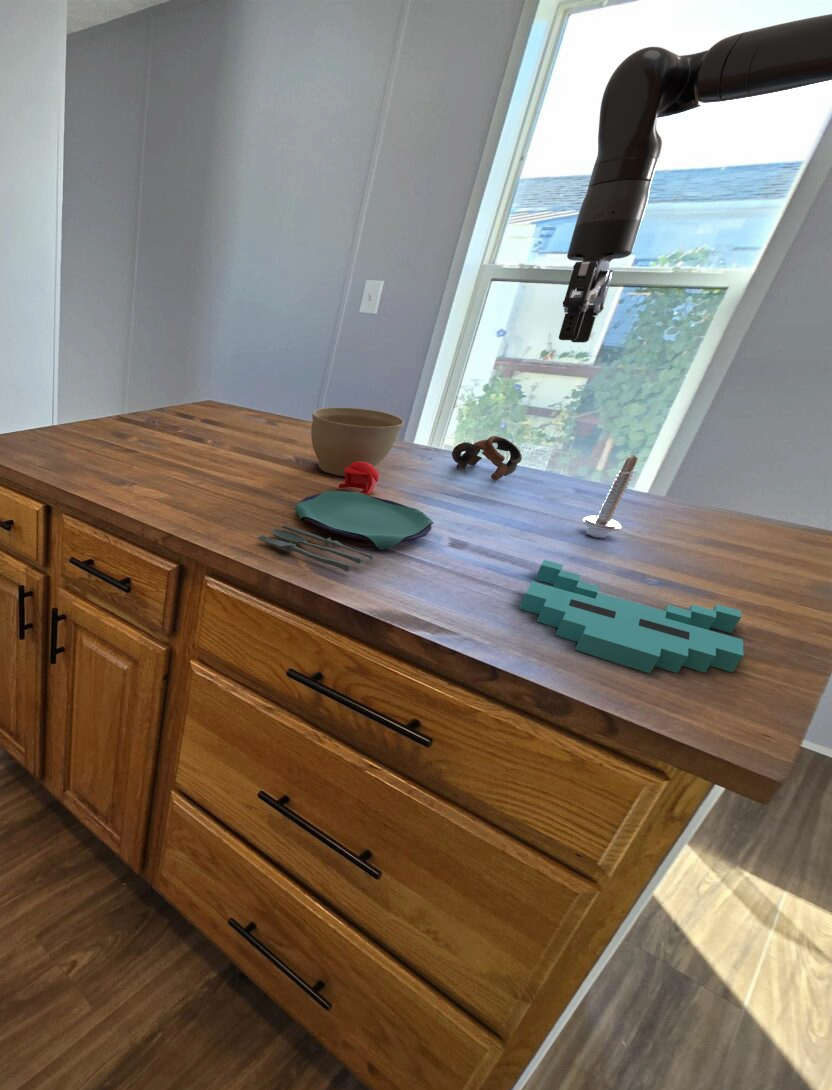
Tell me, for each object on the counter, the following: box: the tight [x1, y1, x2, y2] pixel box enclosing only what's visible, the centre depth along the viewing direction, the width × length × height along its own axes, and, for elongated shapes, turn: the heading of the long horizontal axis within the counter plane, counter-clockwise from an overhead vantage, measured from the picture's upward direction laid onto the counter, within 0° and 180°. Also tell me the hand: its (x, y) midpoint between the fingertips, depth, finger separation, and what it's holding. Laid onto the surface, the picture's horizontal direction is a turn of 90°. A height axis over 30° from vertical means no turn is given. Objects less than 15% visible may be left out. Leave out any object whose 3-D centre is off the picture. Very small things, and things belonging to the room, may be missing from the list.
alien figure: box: [518, 559, 745, 674], centre depth 79 cm, size 20×2×20 cm
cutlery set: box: [256, 490, 434, 573], centre depth 103 cm, size 20×30×2 cm, turn 130°
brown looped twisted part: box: [451, 435, 523, 481], centre depth 129 cm, size 12×10×8 cm
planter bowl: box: [310, 406, 405, 477], centre depth 128 cm, size 16×16×11 cm
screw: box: [581, 455, 639, 539], centre depth 101 cm, size 13×5×5 cm
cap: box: [338, 461, 380, 496], centre depth 118 cm, size 8×6×6 cm
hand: (573, 341), depth 101 cm, fingers open, 8 cm apart
